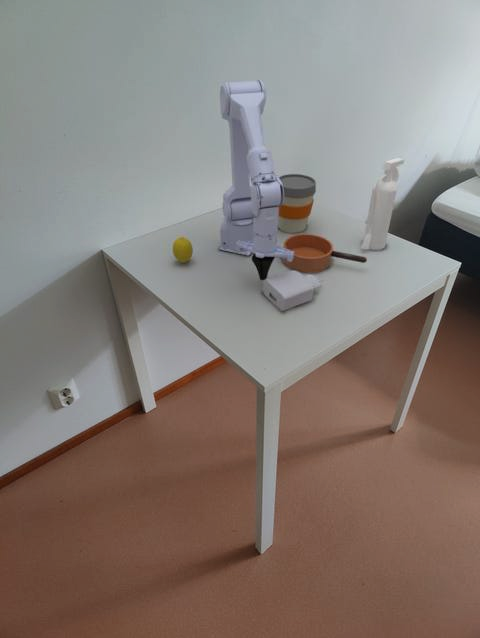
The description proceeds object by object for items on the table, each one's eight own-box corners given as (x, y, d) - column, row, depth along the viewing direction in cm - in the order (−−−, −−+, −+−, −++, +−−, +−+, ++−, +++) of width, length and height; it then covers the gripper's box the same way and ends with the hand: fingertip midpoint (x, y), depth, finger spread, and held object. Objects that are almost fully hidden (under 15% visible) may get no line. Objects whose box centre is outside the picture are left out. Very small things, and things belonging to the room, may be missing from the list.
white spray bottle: (349, 248, 121) (366, 164, 105) (373, 235, 128) (392, 153, 112) (369, 257, 118) (388, 171, 101) (392, 243, 124) (414, 160, 108)
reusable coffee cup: (267, 231, 130) (269, 185, 120) (279, 215, 139) (282, 171, 129) (305, 238, 126) (310, 192, 117) (315, 221, 135) (321, 177, 125)
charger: (331, 294, 104) (283, 312, 98) (309, 276, 110) (262, 293, 104) (334, 279, 101) (284, 297, 95) (311, 262, 107) (263, 278, 101)
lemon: (196, 259, 117) (194, 234, 112) (188, 268, 113) (186, 243, 108) (179, 255, 118) (176, 231, 113) (170, 265, 114) (167, 240, 109)
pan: (276, 266, 114) (277, 252, 111) (290, 243, 124) (292, 230, 121) (324, 276, 110) (326, 262, 107) (335, 252, 120) (337, 239, 117)
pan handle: (327, 256, 113) (327, 251, 112) (328, 253, 114) (329, 248, 113) (365, 264, 110) (366, 259, 109) (366, 261, 111) (367, 256, 110)
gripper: (230, 233, 96) (231, 280, 105) (289, 244, 92) (285, 292, 101) (242, 220, 101) (242, 266, 110) (298, 231, 97) (293, 278, 106)
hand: (263, 278), depth 106 cm, fingers closed
